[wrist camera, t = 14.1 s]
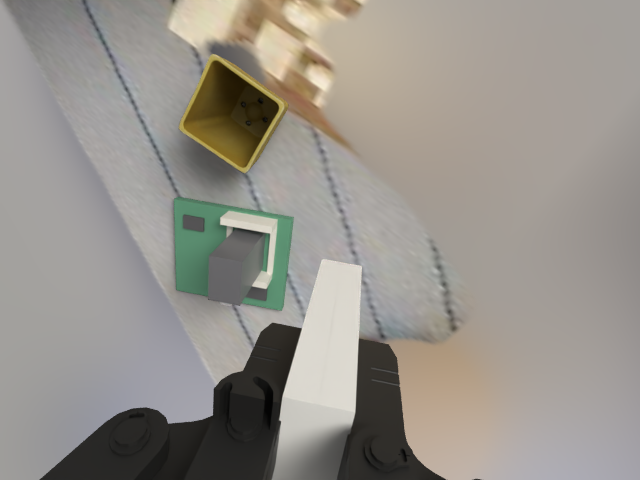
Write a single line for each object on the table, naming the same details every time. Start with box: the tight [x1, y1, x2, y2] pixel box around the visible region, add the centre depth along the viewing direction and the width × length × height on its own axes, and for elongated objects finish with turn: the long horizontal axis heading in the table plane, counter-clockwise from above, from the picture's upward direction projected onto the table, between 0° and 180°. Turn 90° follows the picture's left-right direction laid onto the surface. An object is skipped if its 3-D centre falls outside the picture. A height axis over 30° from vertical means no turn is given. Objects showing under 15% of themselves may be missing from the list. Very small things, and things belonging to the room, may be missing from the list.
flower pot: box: [179, 54, 288, 173], centre depth 41 cm, size 9×9×9 cm
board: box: [174, 197, 294, 311], centre depth 51 cm, size 15×17×4 cm
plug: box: [208, 228, 266, 306], centre depth 46 cm, size 7×4×10 cm, turn 172°
